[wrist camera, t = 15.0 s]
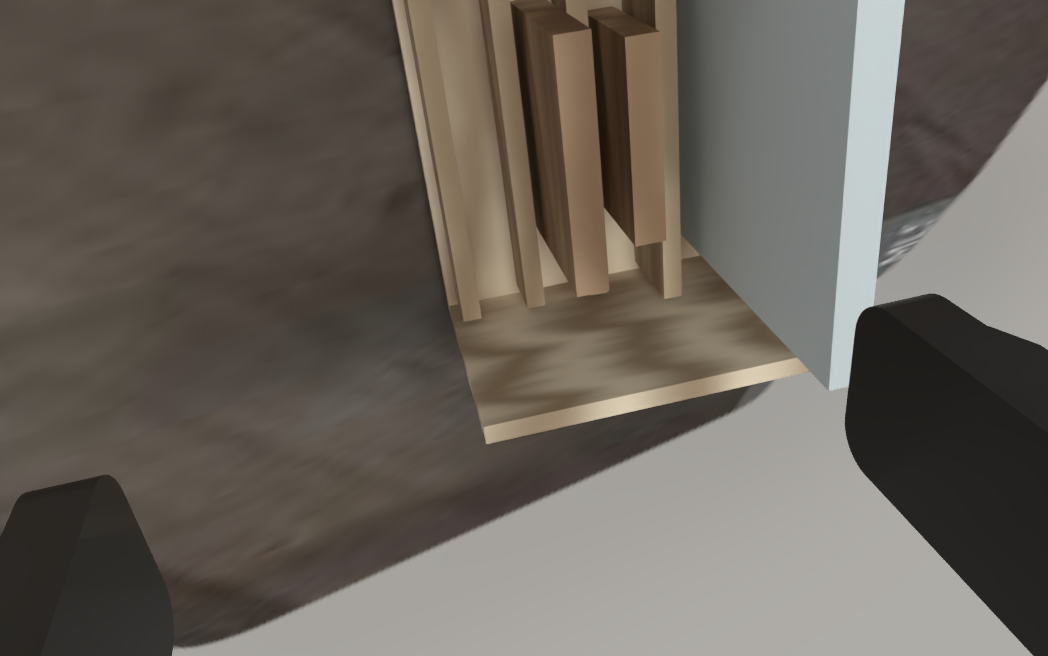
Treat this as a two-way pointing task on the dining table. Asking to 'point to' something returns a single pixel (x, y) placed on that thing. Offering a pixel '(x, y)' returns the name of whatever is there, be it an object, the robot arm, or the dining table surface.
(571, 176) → the offcut
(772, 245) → the blue-grey flat rectangular block
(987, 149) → the dining table surface
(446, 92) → the rack
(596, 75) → the offcut
